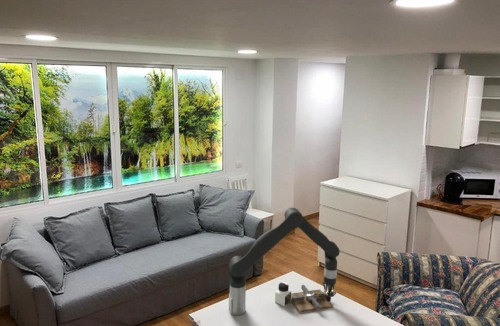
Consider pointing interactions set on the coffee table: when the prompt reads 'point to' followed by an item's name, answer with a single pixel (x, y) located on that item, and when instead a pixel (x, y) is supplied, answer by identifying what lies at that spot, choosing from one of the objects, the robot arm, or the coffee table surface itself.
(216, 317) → the coffee table surface
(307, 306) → the stand board
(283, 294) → the medicine bottle
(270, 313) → the coffee table surface
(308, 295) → the spoked handwheel
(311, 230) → the robot arm
